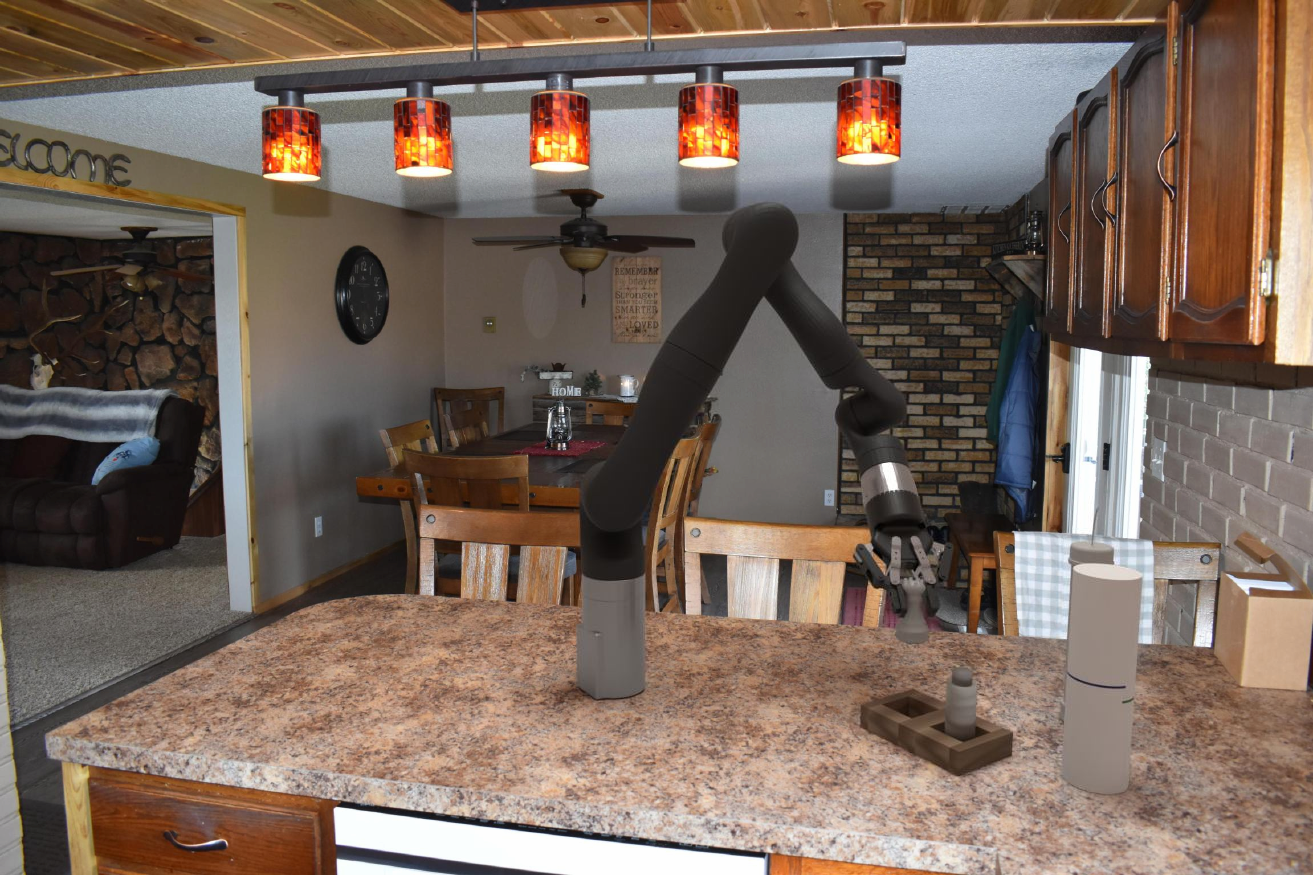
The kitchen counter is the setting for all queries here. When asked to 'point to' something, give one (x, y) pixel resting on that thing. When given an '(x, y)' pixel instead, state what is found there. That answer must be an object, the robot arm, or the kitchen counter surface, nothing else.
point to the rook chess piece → (912, 614)
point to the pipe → (1078, 555)
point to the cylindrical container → (1101, 677)
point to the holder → (940, 726)
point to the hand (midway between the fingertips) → (917, 614)
